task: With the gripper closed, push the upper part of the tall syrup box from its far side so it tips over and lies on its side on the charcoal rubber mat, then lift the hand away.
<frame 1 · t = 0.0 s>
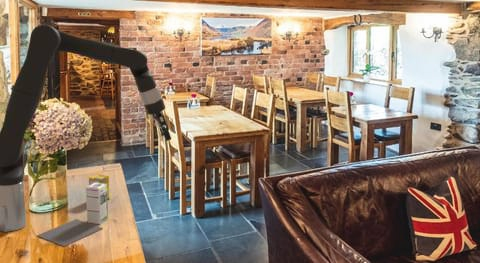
hand: (166, 137, 169), 31 cm above the table, tool tilted 20°, fingers open, 8 cm apart
charcoal mat: (70, 232, 153), on the table
supplement box: (99, 200, 183), on the table
syrup box: (97, 221, 164), on the table
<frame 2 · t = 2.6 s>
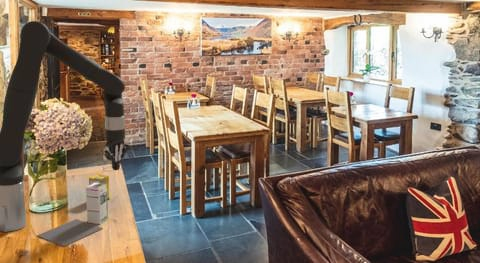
hand: (116, 169, 168), 18 cm above the table, tool pointing down, fingers closed
nothing on the table moved.
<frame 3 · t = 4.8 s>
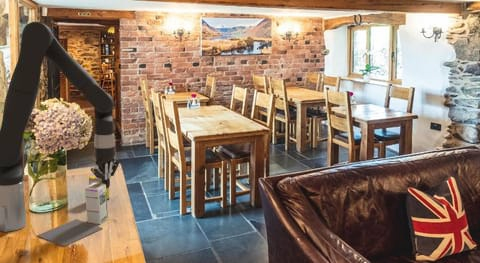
hand: (105, 187, 165), 12 cm above the table, tool pointing down, fingers closed
syrup box: (97, 220, 164), on the table, touching gripper
everything else where it was.
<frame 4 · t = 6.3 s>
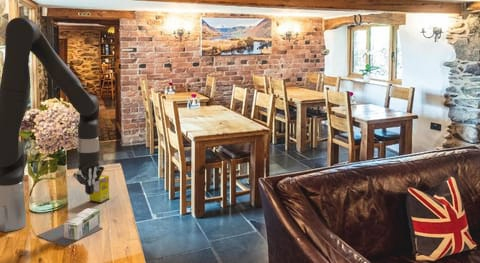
hand: (89, 193, 158), 12 cm above the table, tool pointing down, fingers closed
syrup box: (93, 215, 160), point 3 cm above the table, touching charcoal mat
everything else where it was.
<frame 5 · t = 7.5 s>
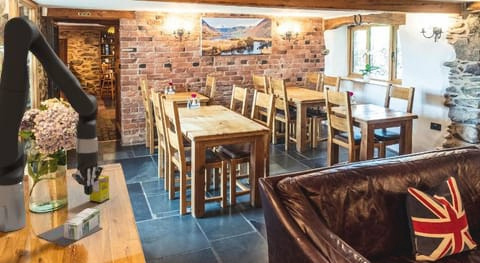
hand: (88, 194, 158), 12 cm above the table, tool pointing down, fingers closed
nothing on the table moved.
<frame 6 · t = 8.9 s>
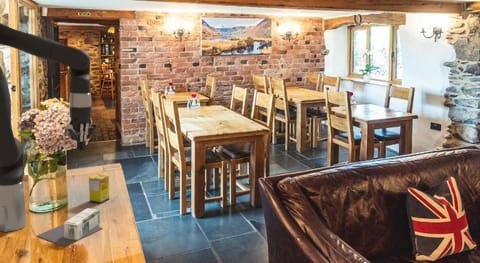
hand: (81, 150, 157), 28 cm above the table, tool pointing down, fingers closed
nothing on the table moved.
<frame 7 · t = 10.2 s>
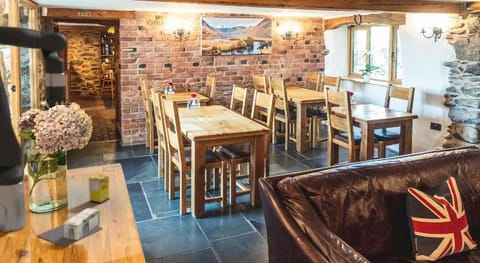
hand: (57, 127, 171), 33 cm above the table, tool pointing down, fingers closed
nothing on the table moved.
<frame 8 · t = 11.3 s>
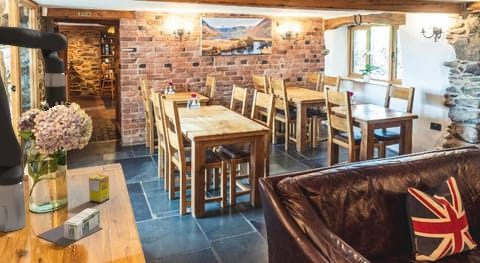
hand: (57, 127, 171), 33 cm above the table, tool pointing down, fingers closed
nothing on the table moved.
at the end: syrup box tilted 90°; syrup box inside the target area on the charcoal mat (2.7 cm from its centre), point 3.1 cm above the charcoal mat's base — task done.
